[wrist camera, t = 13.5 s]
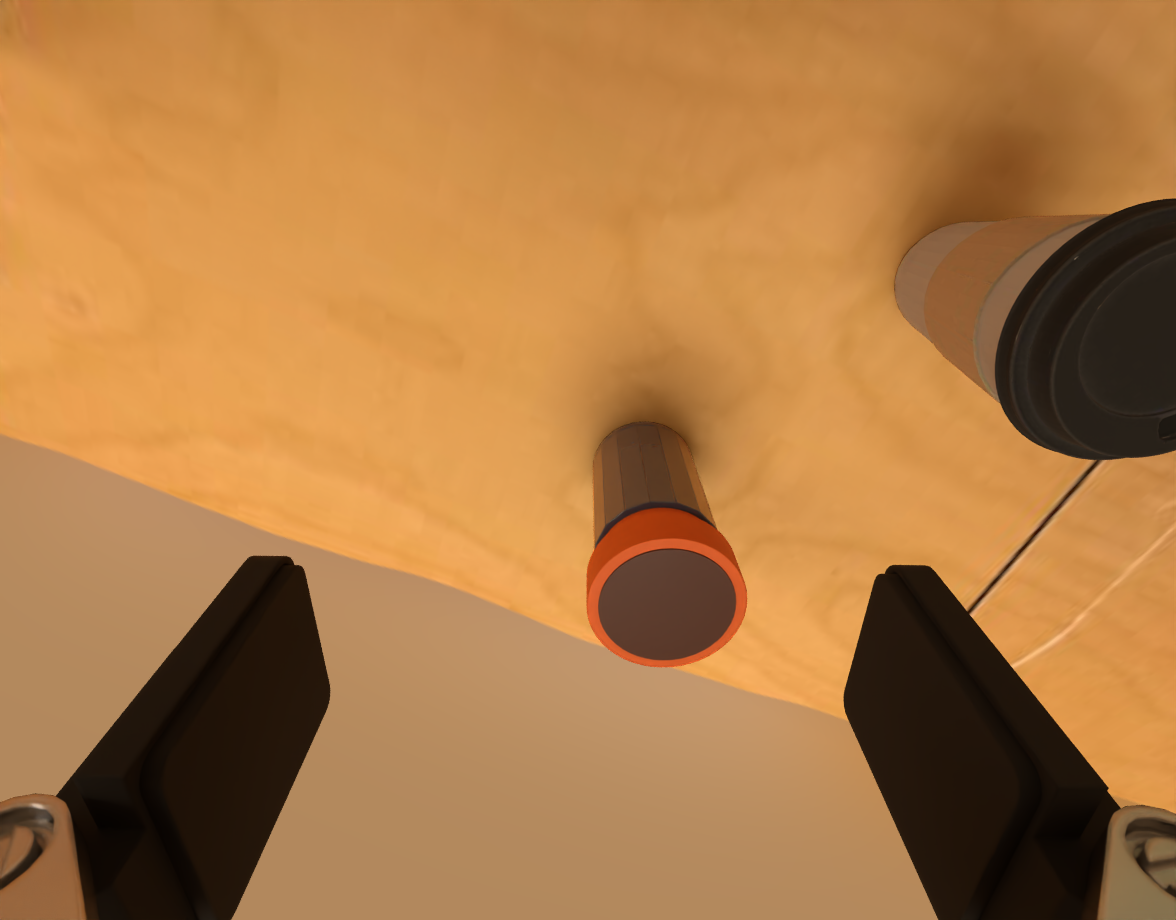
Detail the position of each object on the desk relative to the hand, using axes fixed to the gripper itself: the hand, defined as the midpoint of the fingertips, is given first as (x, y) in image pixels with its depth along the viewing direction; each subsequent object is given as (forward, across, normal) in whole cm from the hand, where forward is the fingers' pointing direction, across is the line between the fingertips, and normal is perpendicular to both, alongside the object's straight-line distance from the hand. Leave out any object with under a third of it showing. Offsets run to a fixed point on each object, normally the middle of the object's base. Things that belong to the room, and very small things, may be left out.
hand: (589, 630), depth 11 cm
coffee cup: (+28, -20, -1) cm, 34 cm away
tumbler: (+27, -4, +11) cm, 30 cm away
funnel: (+23, -4, +11) cm, 26 cm away
